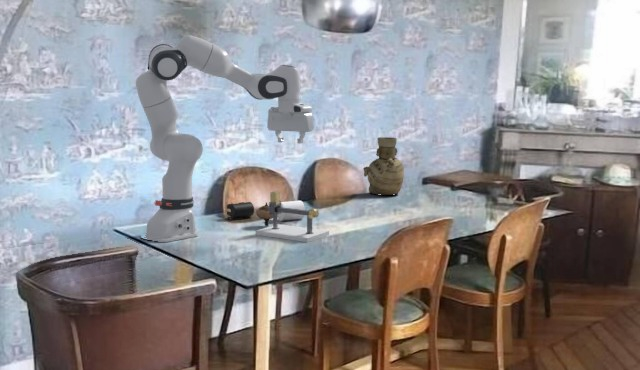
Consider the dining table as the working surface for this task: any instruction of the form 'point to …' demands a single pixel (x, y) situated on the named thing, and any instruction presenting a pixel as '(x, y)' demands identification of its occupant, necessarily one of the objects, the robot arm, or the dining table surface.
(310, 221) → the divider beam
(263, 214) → the brown spinning top
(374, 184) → the ceramic vessel
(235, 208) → the end cap
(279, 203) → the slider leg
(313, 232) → the hole board
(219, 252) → the dining table surface
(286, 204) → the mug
